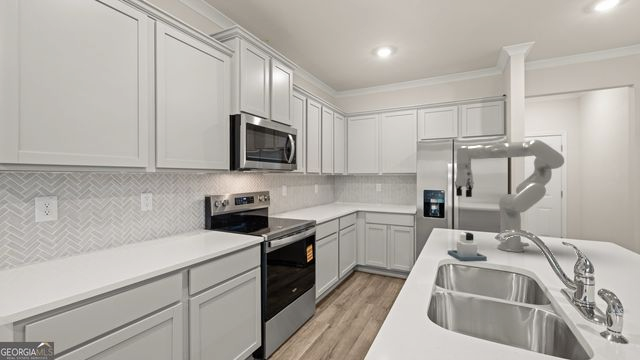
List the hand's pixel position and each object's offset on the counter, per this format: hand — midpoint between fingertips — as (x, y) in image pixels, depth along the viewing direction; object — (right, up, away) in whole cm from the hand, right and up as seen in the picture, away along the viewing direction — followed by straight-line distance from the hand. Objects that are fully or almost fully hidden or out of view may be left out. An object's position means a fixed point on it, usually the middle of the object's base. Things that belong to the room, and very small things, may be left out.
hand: (463, 196), depth 161 cm
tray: (-9, -30, -19) cm, 37 cm away
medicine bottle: (-9, -30, -19) cm, 37 cm away
